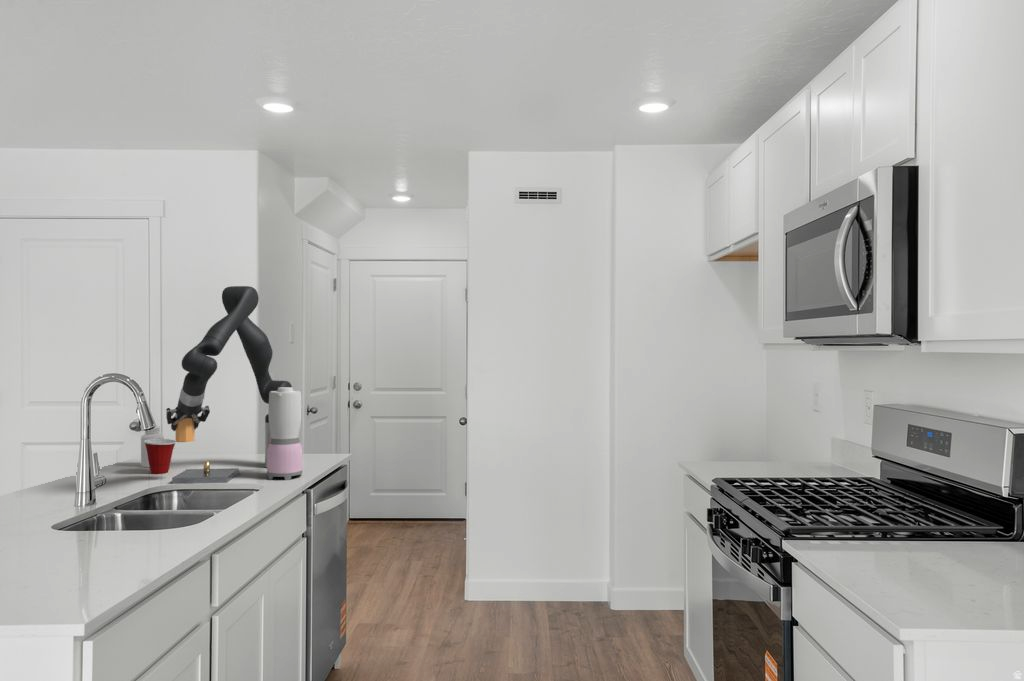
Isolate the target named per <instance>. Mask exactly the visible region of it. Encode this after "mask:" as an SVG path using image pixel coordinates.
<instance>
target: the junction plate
mask: <svg viewBox="0 0 1024 681" xmlns="http://www.w3.org/2000/svg"><path fill="white" fill-rule="evenodd" d="M239 474H240V468H236V467H235V468H234V467H233V468H211V462H210V461H209V460H206V461H203V468H187V469H185V470H183V471H182V472H180V473H178V474H176V475H174V476H173V477H171V484H174V485H176V484H216V483H217V484H222V483H223V484H225V483H229V482H231V480H232V479H234V478H235V477H237V476H238V475H239Z"/></svg>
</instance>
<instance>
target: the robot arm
mask: <svg viewBox="0 0 1024 681" xmlns="http://www.w3.org/2000/svg"><path fill="white" fill-rule="evenodd" d="M259 298H260V297H259V293H258V291H257V290H256V288H255V287H253V286H250V285H249V286H248V285H242V286H241V285H238V286H237V285H235V286H232V285H231V286H227V287H225V288H224V289H223V290H222V292H221V300H222V304H223V308H224V309H225V311H226V315H225V316H224V317H222V318H221V319H220V320H218V321H217V322H215V323H214V324H213V325H212V326H211V327H210V328H209V329H208V330H207V332H206V333H205V335H204V336H203V338H202V339H201V341H200V342H199V343H197V344H196V345H195V346H193V348H191V349H190V350H189V351H188V352H187V353H185V354H184V355H183V357H182V360H181V368H182V370H184V371H186V372H188V373H187V374H185V377H184V380H183V384H182V388H181V389H180V393H179V397H178V402H177V404H176V405H177V406H175V408H174V409H171V408H170V407H167V408H166V409H165V410H166V413H165V414H166V416H165V417H166V421H167V425H170V429H171V430H172V431H173V432H176V427H177V423H178V422H181V421H182V420H183V419H186V418H193V419H194V427H195V430H196V429H198V427H199V425H200V422H202V423H204V422H206V421H207V418H208V417H209V414H210V412H211V410H210V406H209V405H206V406H204V407H203V404H204V403H203V402H204V400H205V393H206V387H207V384H208V382H209V380H210V379H211V378H212V376H213V375H214V374H215V373H216V371H217V369H218V362H217V360H216V359H215V358H214V357H216V356H219V355H220V354H221V352H223V351H222V350H223V349H224V348H225V346H226V345H227V343H228V341H229V340H230V338H231V337H232V336H233V334H234V333H235V332H237V335H238V337H239V340H240V342H241V344H242V347H243V350H244V353H245V354H246V357H247V359H248V362H249V363H250V367H251V369H252V371H253V374H254V377H255V378H254V379H255V381H256V385H257V389H258V392H259V394H260V398H261V399H262V401H263V402H264V403H265V404H268V405H269V393H270V392H271V391H278V388H281V387H292V388H293V386H292V383H291V382H290V381H287V380H273V379H272V377H271V375H270V372H269V371H270V370H269V369H270V368H269V367H270V364H271V362H272V358H273V352H274V351H273V348H272V345H271V343H270V340H269V338H268V336H267V335H266V333H265V332H264V330H262V329H261V328H260V327H259V326H258V325H257V324H256V323H254V322H253V321H252V320H251V319H250V317H249V316H251V314H253V312H254V311H255V310H256V308H257V306H258V303H259V300H260V299H259ZM199 414H200V415H199ZM264 421H265V422H264V424H265V426H264V432H265V433H264V467H265V468H267V450H268V446H269V444H270V442H271V432H270V427H269V413H267V414H266V415H265V417H264Z"/></svg>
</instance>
